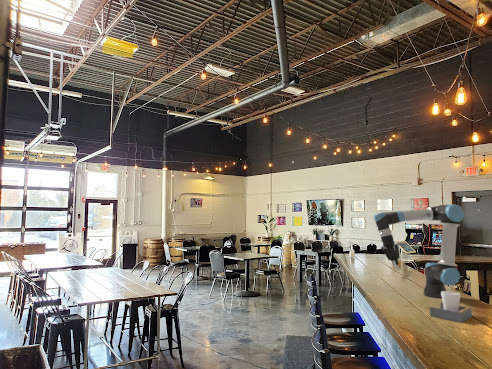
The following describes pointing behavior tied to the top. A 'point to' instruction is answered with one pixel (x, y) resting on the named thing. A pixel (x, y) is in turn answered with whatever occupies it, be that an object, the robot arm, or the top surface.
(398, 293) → the top surface
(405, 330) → the top surface
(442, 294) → the foam cup
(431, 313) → the box
